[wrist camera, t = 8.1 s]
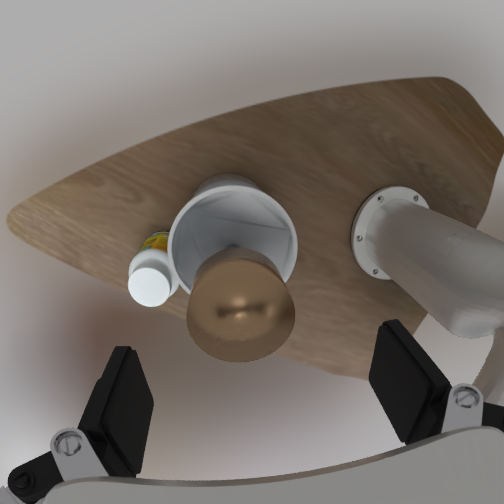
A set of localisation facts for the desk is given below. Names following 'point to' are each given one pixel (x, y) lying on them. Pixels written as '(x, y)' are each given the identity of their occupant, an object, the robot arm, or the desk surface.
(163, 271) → the supplement bottle
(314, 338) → the desk surface
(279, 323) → the plunger
